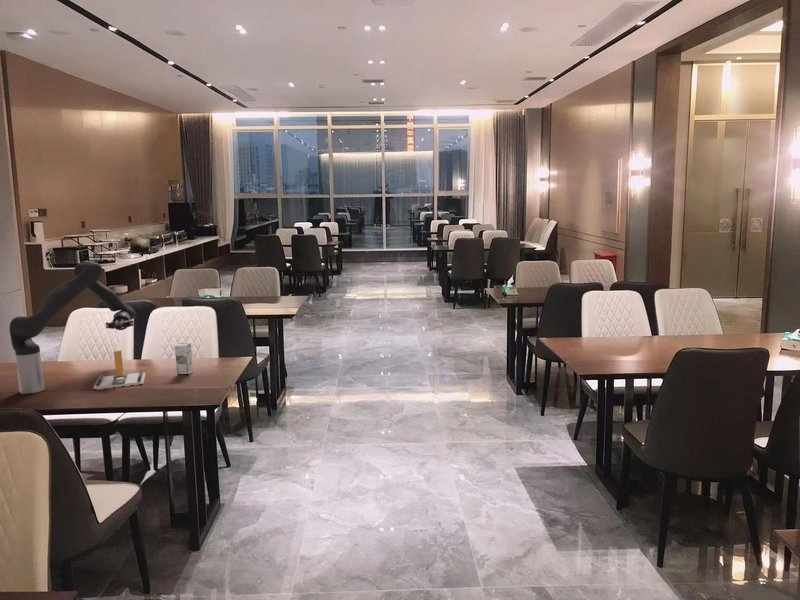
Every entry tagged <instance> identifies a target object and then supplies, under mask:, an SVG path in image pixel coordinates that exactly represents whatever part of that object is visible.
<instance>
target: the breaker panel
mask: <svg viewBox="0 0 800 600" xmlns="http://www.w3.org/2000/svg"><path fill="white" fill-rule="evenodd" d="M124 374H127V376H126V377H120V378H114V375H107V376H104V374H100V375H99V377H98V378H97V380H96V382H95V384H94V385H93V390H94V389H97V390H105V388H106V389H114V388H113V387H115V388H121V387H122V386H125V387H131V386H130V385H134V386H140V385H139V384H143V385H144V382H145V378H146V372H144V371H143V370H139V372H136V373H135V372H134V373H129V372H124ZM122 388H123V387H122Z"/></svg>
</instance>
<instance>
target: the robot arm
mask: <svg viewBox="0 0 800 600" xmlns="http://www.w3.org/2000/svg"><path fill="white" fill-rule="evenodd" d="M73 273H74V276H75V277H74V278H72V279H69V280H68V281H65V282H63V283H61V284H59V285H58V286H56V287H55V288H54V289H52V290H51V291H50V292H49V293H47V295H46V296H45V297H44V300H43V303H42V306H41V307H40V308H39V310H37V311H36V312H35V313H34V314H32V315H30V316H16V317H14V318H12V319H11V321H10V322H9V336H10V340H11V341H10V342H11V346H12V348H13V350H14V353H15V358H16V359H15V360H16V367H17V368H16V369H17V370H16V373H17V374H16V375H17V383H18V389H19V393H20V394H21V395H31V394H35V393H39V392H42V391H44V390H45V383H44V382H45V381H44V374H43V366H42V365H43V364H42V356H41V349H40V345H39V344H37V343H36V342H35V341H33V339H32V338H36V337H37V336H38V335H40V333H42V331H44V329H45V328H46V327H47V326H48V324H50V322H51V321H52V320H53V319H54V318H55V317H56V316H57V315H59V314H61V312H62V311H63V310H64V309H65V308H67V307H68V306H69V305H70V304H71V303H72V302H73V301H74V300H75V299H76V298H78V297H79V296H80V295H81V294H82V293H83V292H84V291H85V290H86V289H89V290H90V291H91V292H93V293H94V294H95V295H96V296H97V297H98V298H99V299H100V300H101V301H102V302H103V303H104V305H105V306H106V307H107V309H109V311H111V312H116V313H114V314H113V319H112V321H110V322H105V328H106V329H111V330H114V329H115V330H116V331H123V330H126V329H127V328H129V327H134V326H135V325H134V319H135V318H136V316H137V313H136V311H135V309H134V308H132V307H131V306H129V304H126V303H125V302H123V301H122V300H121V298H120V297H119V296H118V295H117V293H115V291H114V290H112V289H111V288H109V287H107V286H106V285H104V284H103V283H102V282H100V278H101V277H102V275H103V273H104V272H103V267H102V265H101V264H99V263H98V262H94V261H93V262H92V261H89V262H88V261H87V262H80V263H78V264H76V265H75V267H74V270H73ZM30 393H31V394H30Z"/></svg>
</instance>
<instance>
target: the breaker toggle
mask: <svg viewBox="0 0 800 600" xmlns="http://www.w3.org/2000/svg"><path fill="white" fill-rule="evenodd" d="M113 357H114V366H115V367H114V368H115V374H114V375H113V376H114V378H120V377H126V376H127V374H124V373H125V372H124V363H123V362H124V361H123V354H122V350H121V349H120V350H114V351H113Z"/></svg>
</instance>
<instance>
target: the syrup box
mask: <svg viewBox="0 0 800 600" xmlns="http://www.w3.org/2000/svg"><path fill="white" fill-rule="evenodd" d="M174 352H175V354H174V355H175V364H176V374H189V375H191V374H193V372H194V366H193V354H192V343H191V342H179V343H177V344H175V345H174ZM190 373H191V374H190Z"/></svg>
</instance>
